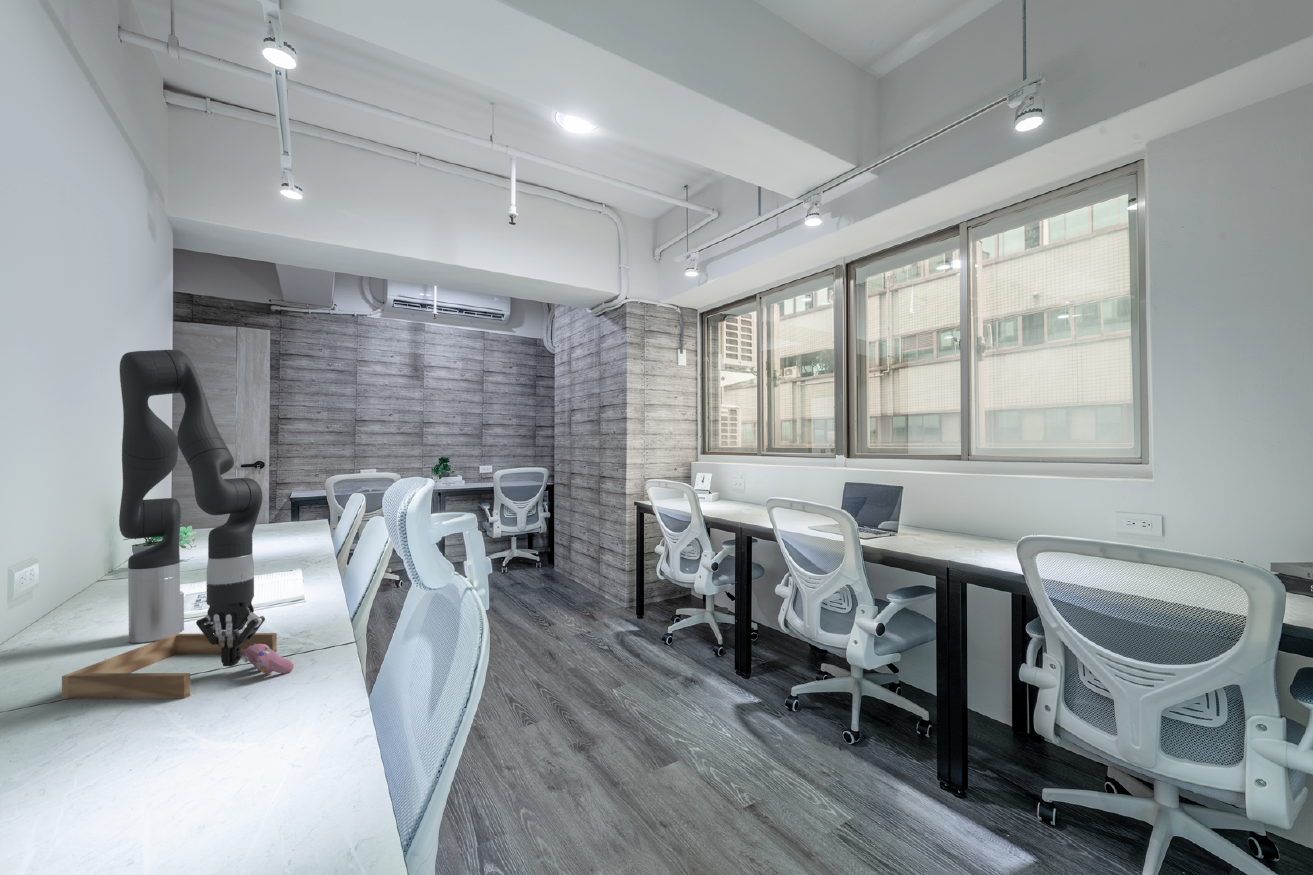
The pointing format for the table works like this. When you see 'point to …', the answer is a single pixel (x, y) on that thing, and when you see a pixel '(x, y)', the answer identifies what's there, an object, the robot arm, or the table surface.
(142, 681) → the wooden u-shaped frame
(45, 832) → the table surface
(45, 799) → the table surface
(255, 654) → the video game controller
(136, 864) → the table surface
